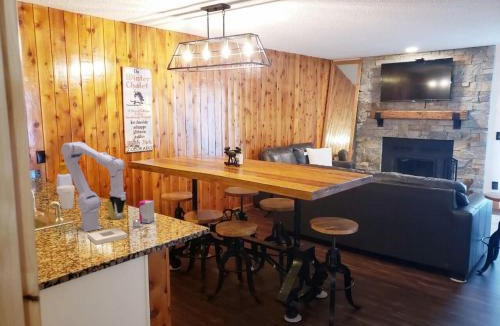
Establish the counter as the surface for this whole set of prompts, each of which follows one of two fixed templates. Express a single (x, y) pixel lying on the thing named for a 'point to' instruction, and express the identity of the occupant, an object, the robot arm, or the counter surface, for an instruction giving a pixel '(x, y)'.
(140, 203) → the supplement box
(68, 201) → the foam cup
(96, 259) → the counter surface
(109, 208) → the plant pot
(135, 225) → the short steel pin
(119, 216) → the long steel pin
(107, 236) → the hole board
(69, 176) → the soap bottle
